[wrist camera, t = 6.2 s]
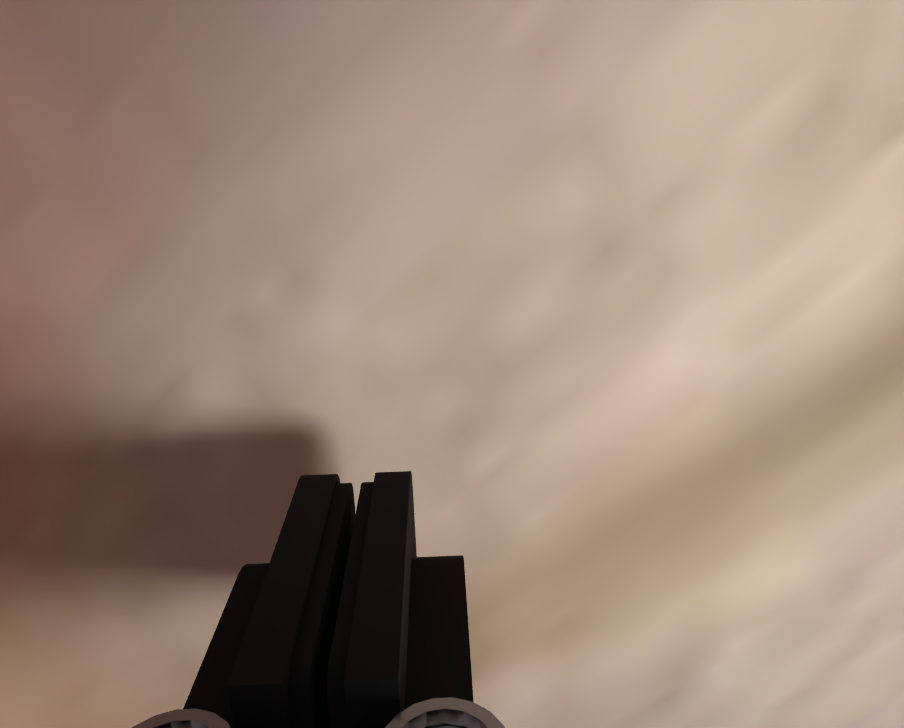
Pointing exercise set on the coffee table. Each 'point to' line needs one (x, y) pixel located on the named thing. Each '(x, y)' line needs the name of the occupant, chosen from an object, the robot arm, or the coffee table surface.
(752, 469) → the coffee table surface
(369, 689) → the robot arm
